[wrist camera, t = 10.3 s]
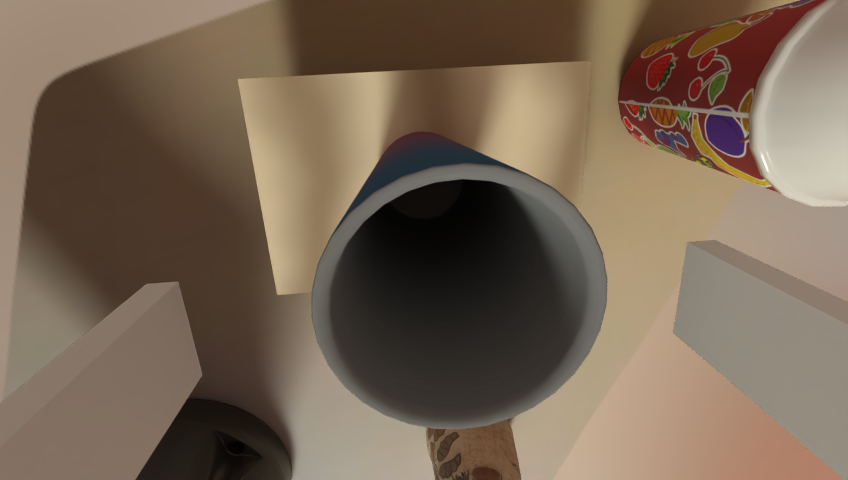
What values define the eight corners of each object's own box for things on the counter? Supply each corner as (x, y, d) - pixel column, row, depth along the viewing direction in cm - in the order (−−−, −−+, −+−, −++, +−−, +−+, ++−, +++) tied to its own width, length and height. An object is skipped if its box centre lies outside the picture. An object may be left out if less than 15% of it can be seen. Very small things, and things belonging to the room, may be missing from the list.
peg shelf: (298, 256, 32) (277, 294, 26) (270, 79, 28) (237, 78, 22) (543, 239, 33) (576, 273, 27) (551, 65, 28) (591, 60, 23)
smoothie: (608, 170, 31) (935, 305, 12) (587, 48, 28) (973, -22, 9) (723, 133, 31) (1243, 214, 12) (714, 6, 28) (1379, -154, 9)
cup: (496, 126, 23) (650, 192, 9) (469, 244, 26) (560, 442, 12) (369, 102, 23) (328, 135, 9) (352, 226, 25) (297, 415, 11)
